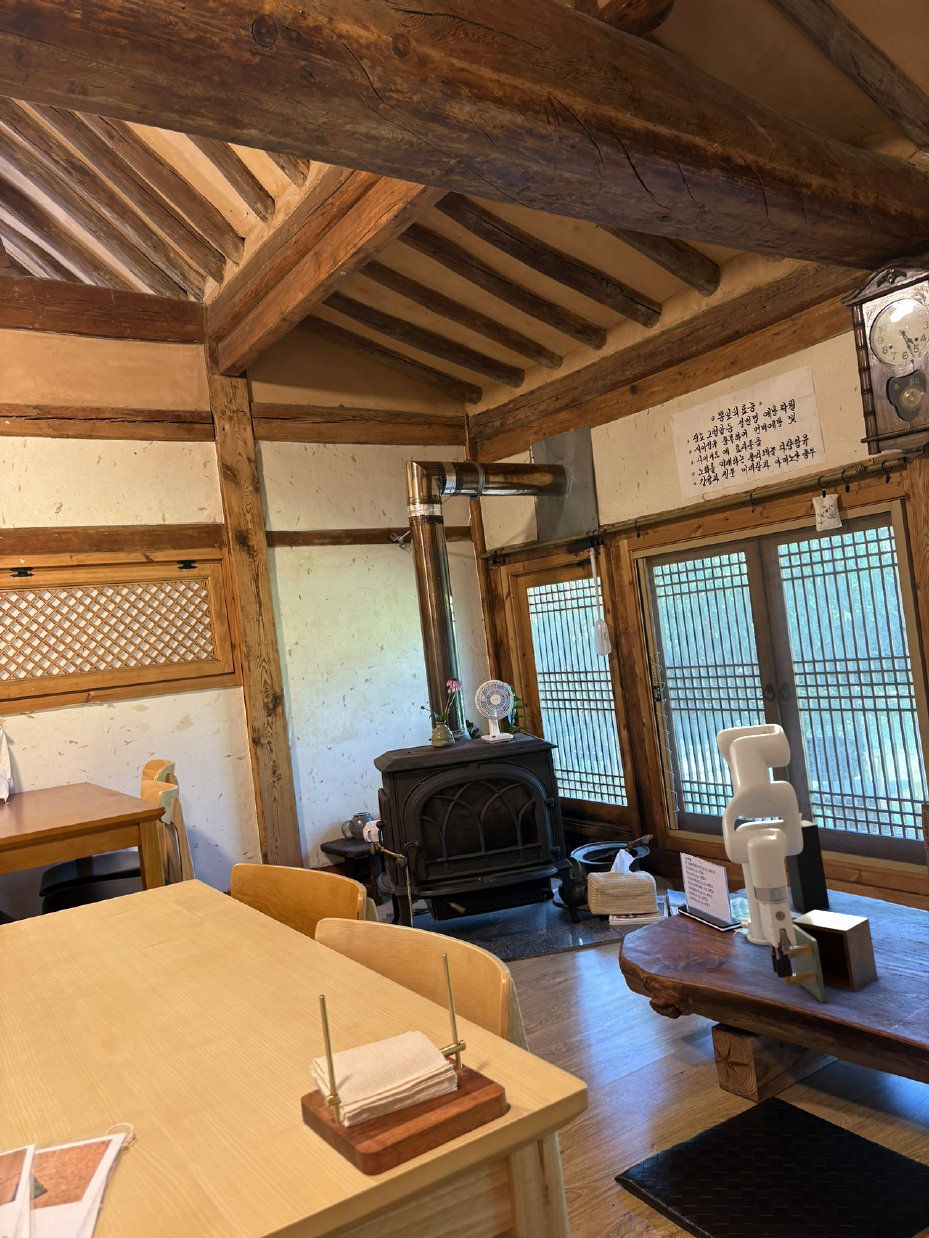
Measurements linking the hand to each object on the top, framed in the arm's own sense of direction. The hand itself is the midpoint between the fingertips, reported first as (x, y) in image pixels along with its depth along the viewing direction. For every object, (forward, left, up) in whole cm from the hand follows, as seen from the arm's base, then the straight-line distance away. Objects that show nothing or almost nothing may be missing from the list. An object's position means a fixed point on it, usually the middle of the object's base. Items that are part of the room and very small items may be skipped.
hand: (783, 973), depth 203 cm
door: (-2, +6, -7) cm, 9 cm away
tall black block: (-33, +63, -7) cm, 71 cm away
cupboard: (+1, +19, -7) cm, 20 cm away
